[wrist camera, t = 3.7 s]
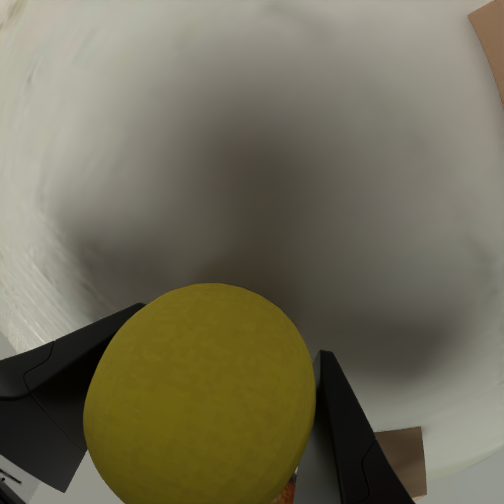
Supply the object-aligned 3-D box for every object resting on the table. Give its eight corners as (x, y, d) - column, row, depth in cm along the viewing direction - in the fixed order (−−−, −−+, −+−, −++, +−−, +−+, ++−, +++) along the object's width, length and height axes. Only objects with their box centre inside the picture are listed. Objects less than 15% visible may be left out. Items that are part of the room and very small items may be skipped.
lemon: (251, 375, 11) (195, 541, 4) (150, 298, 11) (31, 454, 4) (353, 313, 9) (350, 564, 2) (230, 200, 8) (5, 459, 1)
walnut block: (420, 425, 11) (426, 494, 7) (398, 454, 14) (399, 510, 9) (343, 433, 13) (337, 507, 8) (334, 459, 15) (327, 517, 10)
